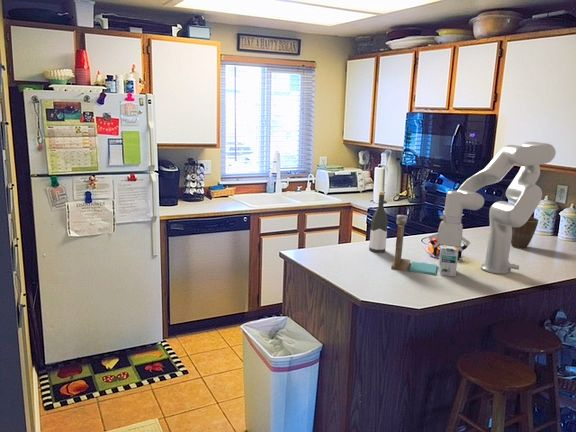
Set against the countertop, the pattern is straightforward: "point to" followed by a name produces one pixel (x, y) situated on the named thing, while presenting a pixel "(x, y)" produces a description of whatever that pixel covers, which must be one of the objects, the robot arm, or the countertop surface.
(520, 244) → the plant pot
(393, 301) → the countertop surface
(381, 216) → the wine bottle
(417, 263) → the mat
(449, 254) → the light bulb box
